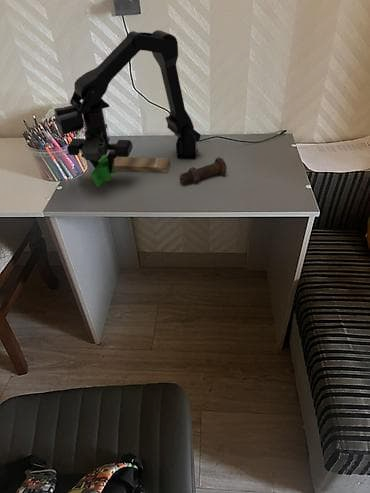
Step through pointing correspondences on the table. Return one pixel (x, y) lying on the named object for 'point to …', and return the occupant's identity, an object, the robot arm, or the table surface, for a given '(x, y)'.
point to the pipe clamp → (102, 171)
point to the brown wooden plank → (141, 164)
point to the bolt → (203, 171)
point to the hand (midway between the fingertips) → (105, 172)
